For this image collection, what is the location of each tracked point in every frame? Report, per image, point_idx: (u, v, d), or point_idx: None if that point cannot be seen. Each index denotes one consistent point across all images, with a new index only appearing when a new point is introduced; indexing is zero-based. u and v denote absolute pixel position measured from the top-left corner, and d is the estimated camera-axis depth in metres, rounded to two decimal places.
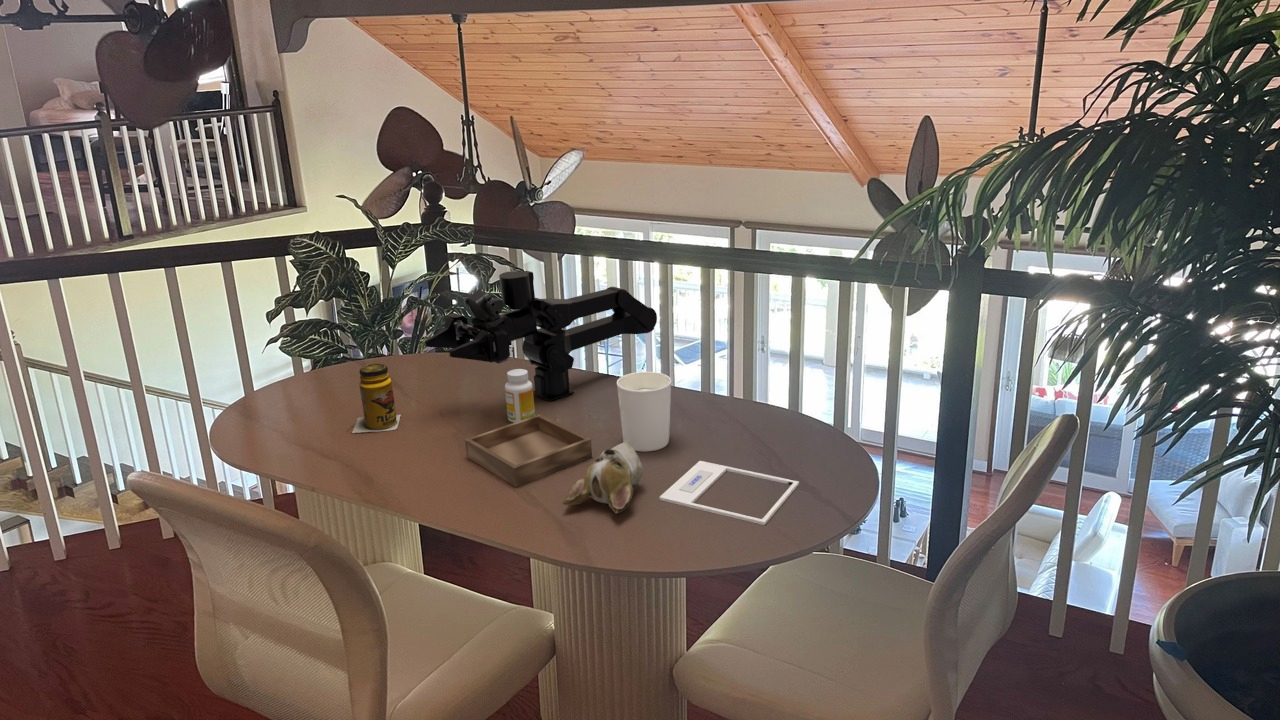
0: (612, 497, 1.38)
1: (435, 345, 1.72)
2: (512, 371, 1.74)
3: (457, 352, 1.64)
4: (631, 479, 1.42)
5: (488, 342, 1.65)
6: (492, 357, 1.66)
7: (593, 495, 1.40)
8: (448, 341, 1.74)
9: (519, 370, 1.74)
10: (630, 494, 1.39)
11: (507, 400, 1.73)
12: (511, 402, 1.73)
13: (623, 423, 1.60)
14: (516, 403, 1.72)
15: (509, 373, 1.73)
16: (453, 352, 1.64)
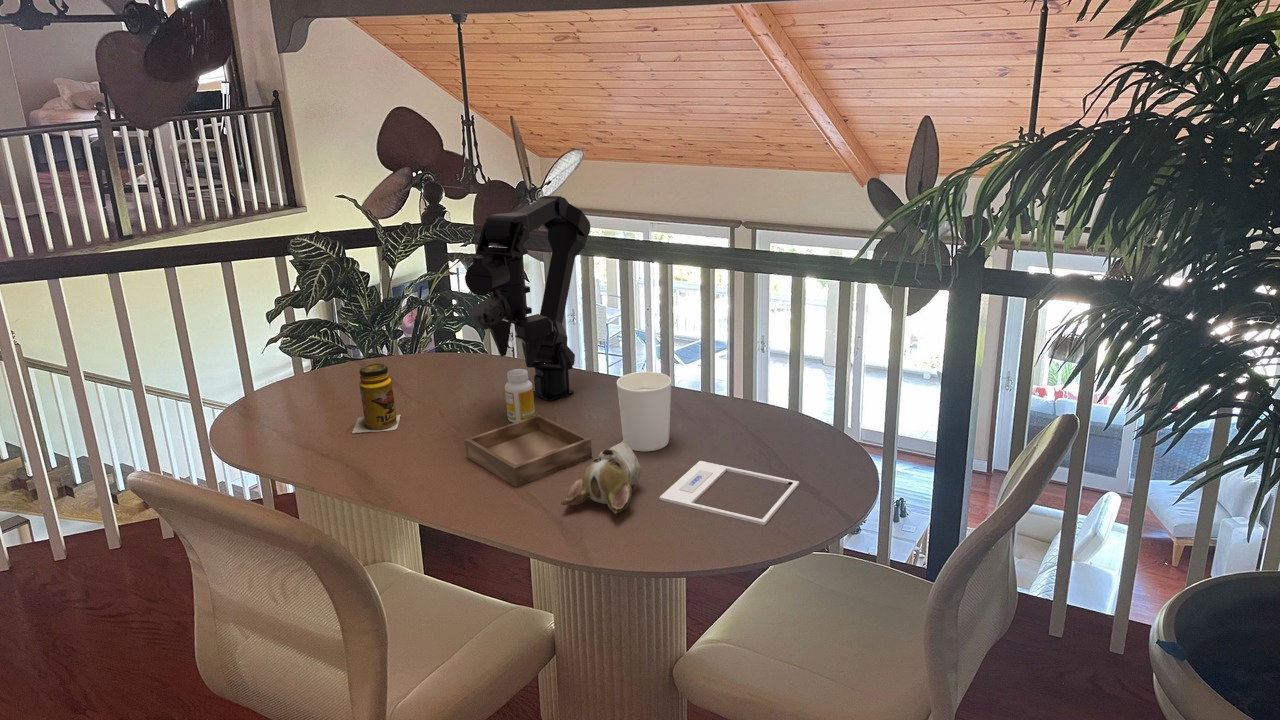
0: (611, 497, 1.38)
1: (506, 346, 1.76)
2: (512, 371, 1.74)
3: (530, 361, 1.68)
4: (629, 479, 1.42)
5: None
6: (545, 334, 1.65)
7: (592, 495, 1.40)
8: (504, 329, 1.75)
9: (519, 370, 1.74)
10: (629, 494, 1.39)
11: (507, 400, 1.73)
12: (511, 402, 1.73)
13: (623, 423, 1.60)
14: (516, 403, 1.72)
15: (509, 373, 1.73)
16: (528, 364, 1.69)
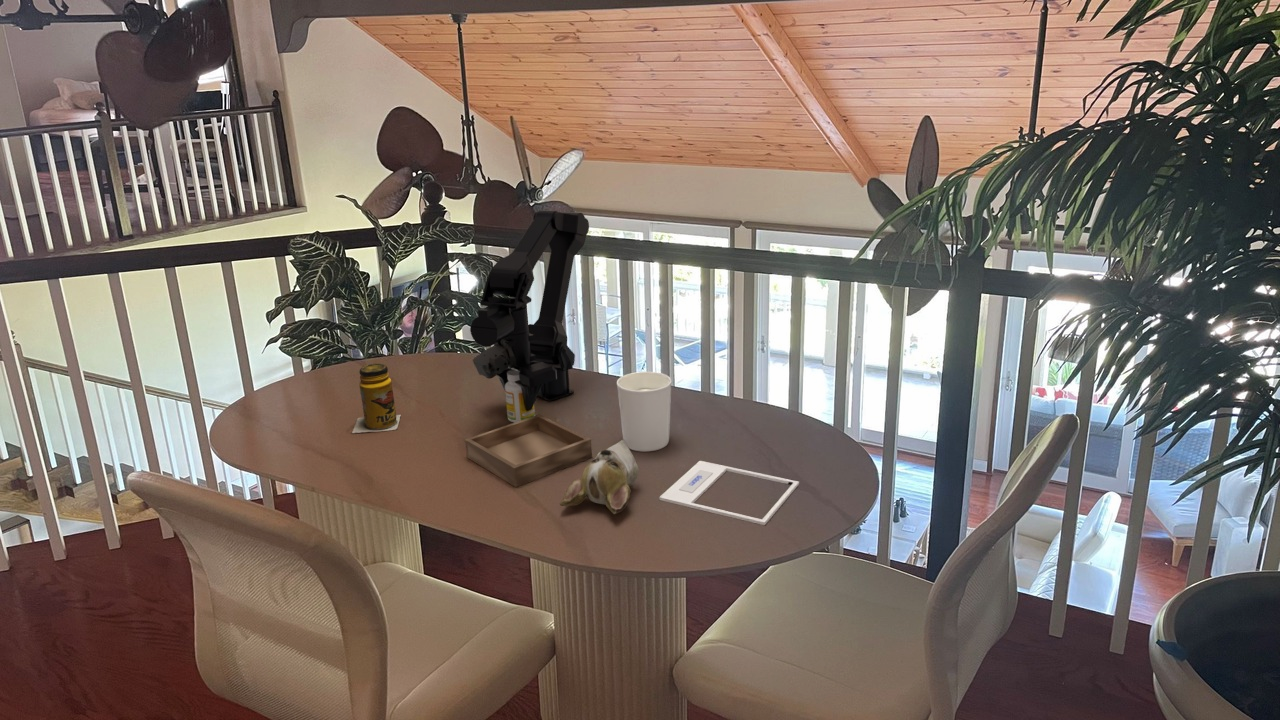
0: (610, 498, 1.38)
1: None
2: (512, 371, 1.74)
3: (529, 405, 1.73)
4: (628, 479, 1.42)
5: None
6: None
7: (590, 496, 1.40)
8: None
9: None
10: (627, 494, 1.39)
11: (507, 400, 1.73)
12: (511, 402, 1.73)
13: (623, 423, 1.60)
14: (516, 402, 1.72)
15: (509, 373, 1.73)
16: (527, 407, 1.73)
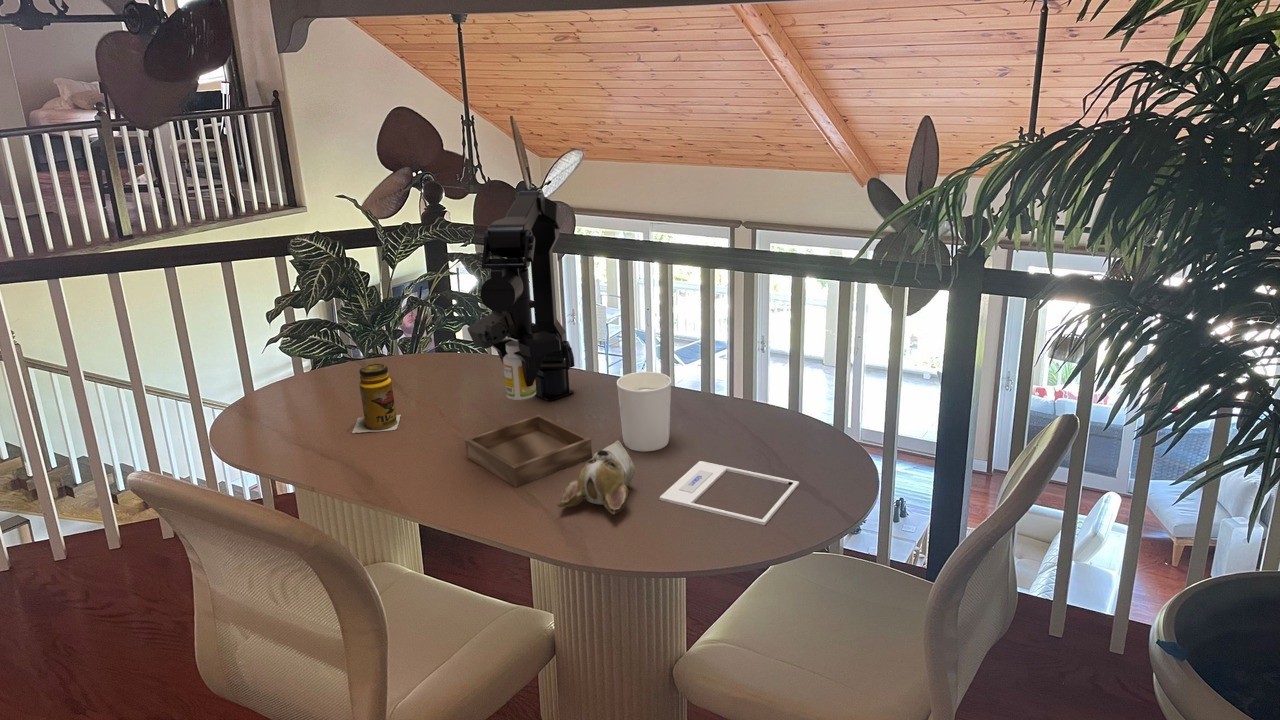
0: (608, 498, 1.38)
1: None
2: (511, 342, 1.57)
3: (530, 380, 1.55)
4: (625, 479, 1.42)
5: None
6: None
7: (588, 497, 1.40)
8: None
9: None
10: (625, 494, 1.39)
11: (505, 374, 1.56)
12: (509, 377, 1.56)
13: (623, 423, 1.60)
14: (515, 377, 1.55)
15: (508, 344, 1.56)
16: (528, 383, 1.56)
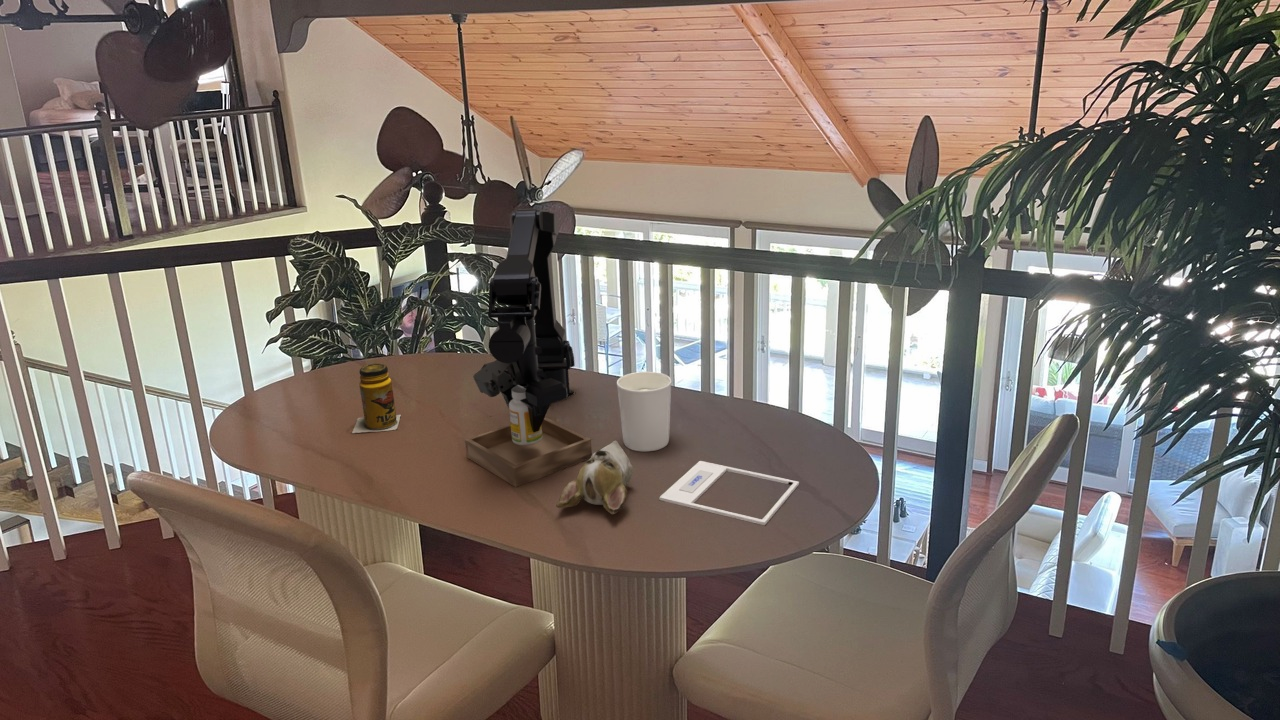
0: (606, 498, 1.38)
1: None
2: (517, 387, 1.56)
3: (536, 425, 1.55)
4: (623, 479, 1.42)
5: None
6: None
7: (586, 497, 1.40)
8: None
9: None
10: (624, 494, 1.39)
11: (511, 420, 1.55)
12: (515, 423, 1.55)
13: (623, 423, 1.60)
14: (522, 423, 1.54)
15: (514, 390, 1.55)
16: (534, 428, 1.55)
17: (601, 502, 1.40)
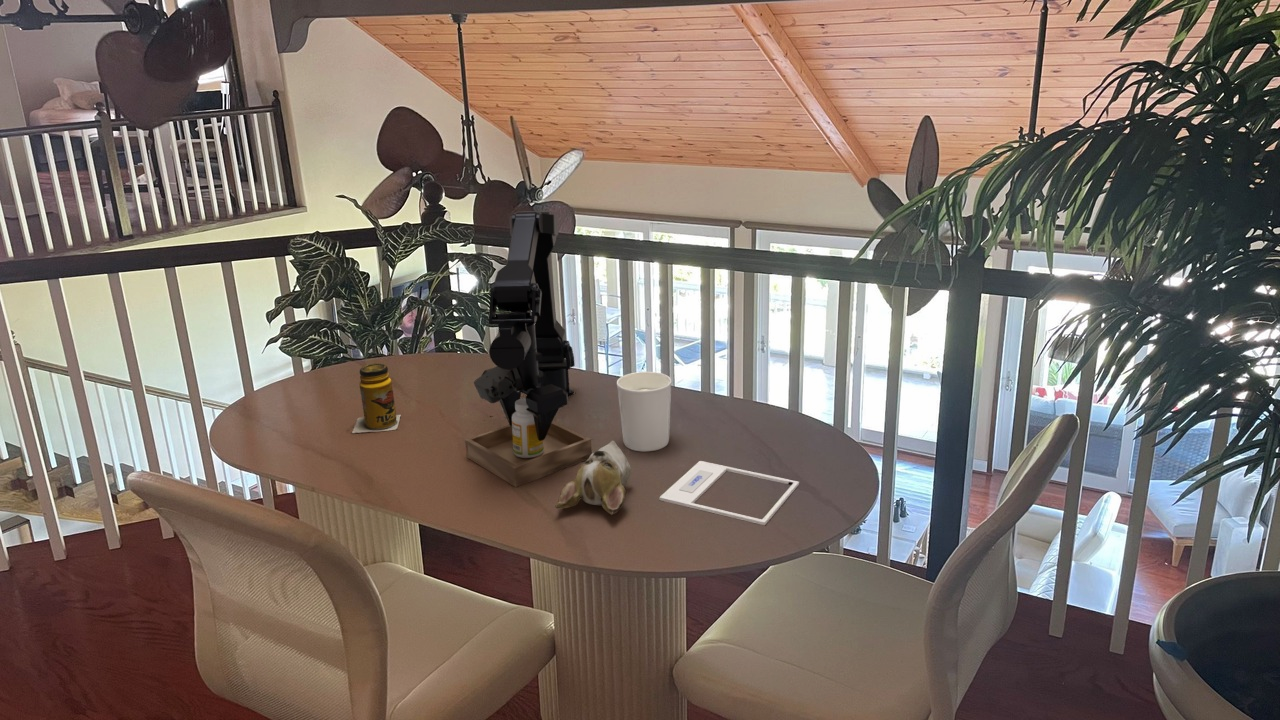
0: (605, 498, 1.38)
1: None
2: (520, 400, 1.56)
3: (542, 434, 1.54)
4: (621, 479, 1.42)
5: None
6: (559, 406, 1.51)
7: (585, 497, 1.40)
8: (513, 397, 1.60)
9: None
10: (623, 494, 1.39)
11: (514, 432, 1.56)
12: (517, 435, 1.56)
13: (623, 423, 1.60)
14: (524, 436, 1.55)
15: (517, 403, 1.55)
16: (540, 437, 1.54)
17: (600, 502, 1.40)
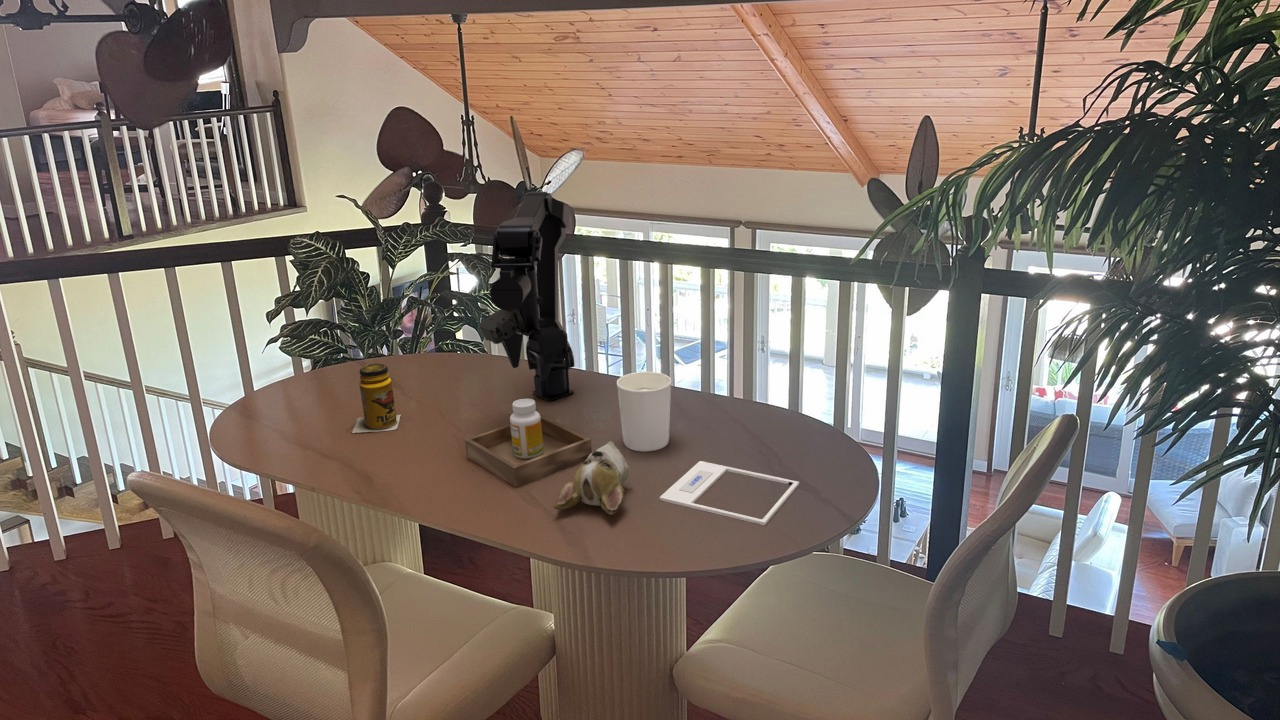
0: (604, 499, 1.38)
1: (518, 357, 1.70)
2: (518, 401, 1.56)
3: (544, 374, 1.62)
4: (620, 480, 1.42)
5: None
6: (560, 347, 1.60)
7: (584, 498, 1.40)
8: (516, 340, 1.69)
9: (526, 400, 1.57)
10: (622, 495, 1.38)
11: (512, 433, 1.56)
12: (516, 436, 1.56)
13: (623, 423, 1.60)
14: (523, 437, 1.55)
15: (514, 404, 1.55)
16: (542, 377, 1.63)
17: (599, 503, 1.40)
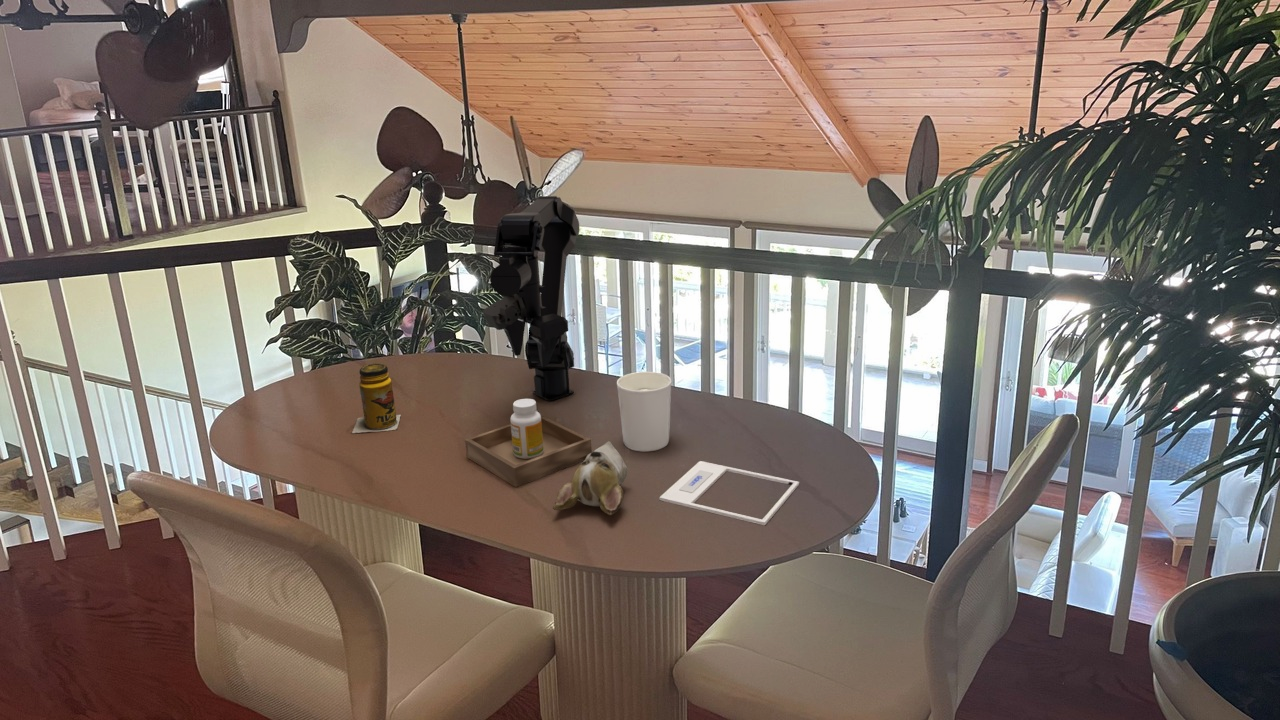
0: (603, 499, 1.38)
1: (521, 345, 1.75)
2: (519, 401, 1.56)
3: (545, 360, 1.68)
4: (618, 480, 1.42)
5: None
6: (560, 333, 1.65)
7: (582, 498, 1.39)
8: (518, 329, 1.75)
9: (527, 400, 1.57)
10: (621, 495, 1.38)
11: (513, 433, 1.56)
12: (516, 436, 1.56)
13: (623, 423, 1.60)
14: (523, 437, 1.55)
15: (515, 404, 1.55)
16: (543, 363, 1.68)
17: (597, 503, 1.40)
